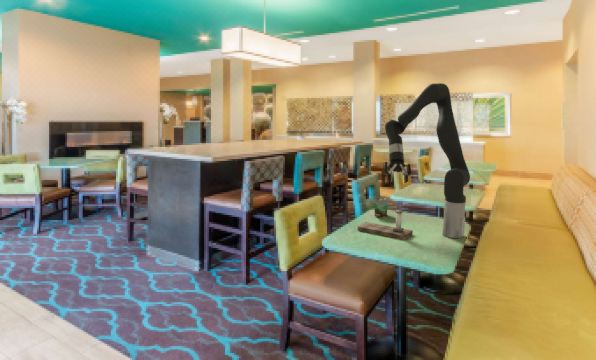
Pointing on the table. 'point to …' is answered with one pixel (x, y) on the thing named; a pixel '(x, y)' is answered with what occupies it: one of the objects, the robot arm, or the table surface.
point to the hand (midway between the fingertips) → (397, 182)
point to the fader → (398, 221)
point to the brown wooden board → (384, 230)
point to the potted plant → (381, 207)
